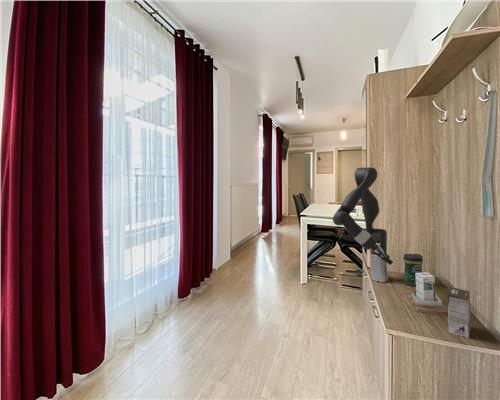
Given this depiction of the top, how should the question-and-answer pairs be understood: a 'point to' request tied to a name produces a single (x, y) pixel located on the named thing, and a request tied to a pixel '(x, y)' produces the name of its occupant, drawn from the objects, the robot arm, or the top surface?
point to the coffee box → (459, 312)
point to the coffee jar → (412, 268)
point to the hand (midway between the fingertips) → (390, 260)
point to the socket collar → (427, 301)
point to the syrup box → (425, 286)
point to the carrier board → (429, 309)
